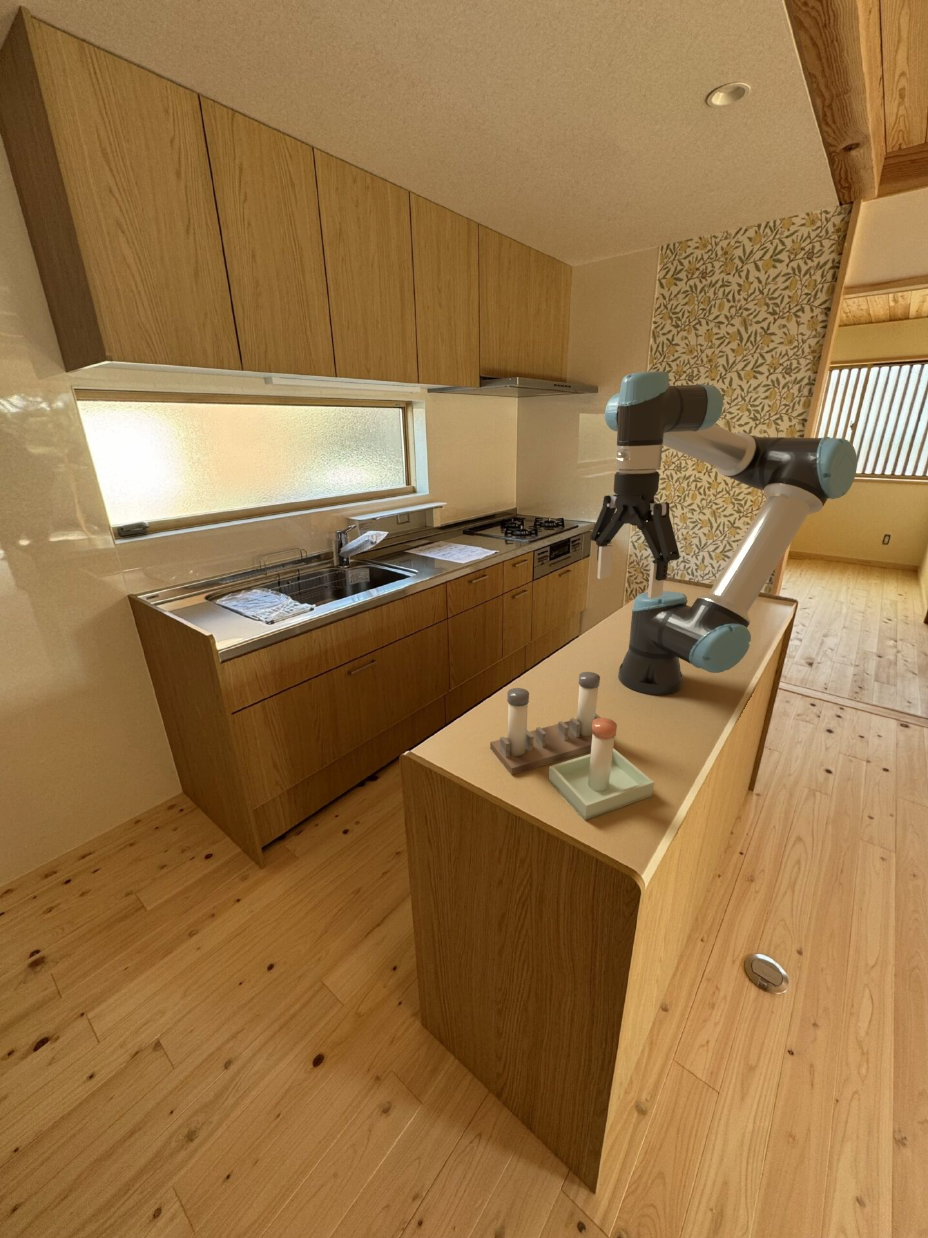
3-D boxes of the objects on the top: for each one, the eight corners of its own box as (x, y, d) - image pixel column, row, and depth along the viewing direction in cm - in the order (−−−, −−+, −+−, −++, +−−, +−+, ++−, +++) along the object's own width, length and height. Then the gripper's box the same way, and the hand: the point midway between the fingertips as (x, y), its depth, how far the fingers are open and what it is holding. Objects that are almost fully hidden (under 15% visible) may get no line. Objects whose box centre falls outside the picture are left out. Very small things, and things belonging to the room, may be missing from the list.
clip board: (585, 722, 108) (586, 704, 107) (612, 744, 100) (614, 725, 99) (490, 748, 100) (490, 729, 98) (511, 775, 92) (512, 754, 90)
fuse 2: (587, 723, 105) (591, 670, 100) (598, 733, 102) (604, 678, 97) (571, 728, 104) (575, 674, 99) (582, 738, 100) (587, 682, 96)
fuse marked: (600, 775, 91) (606, 715, 86) (614, 788, 87) (622, 727, 83) (582, 781, 89) (587, 721, 85) (596, 795, 86) (602, 733, 81)
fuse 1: (520, 742, 99) (522, 686, 95) (530, 753, 96) (533, 695, 91) (502, 747, 98) (503, 690, 93) (512, 758, 94) (513, 700, 90)
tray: (610, 760, 96) (612, 747, 95) (652, 796, 86) (654, 782, 85) (548, 780, 91) (549, 766, 90) (585, 820, 81) (586, 805, 80)
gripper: (575, 468, 96) (571, 573, 104) (678, 477, 75) (663, 609, 83) (605, 465, 99) (599, 568, 107) (713, 473, 78) (696, 601, 86)
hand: (627, 586), depth 95 cm, fingers open, 13 cm apart
